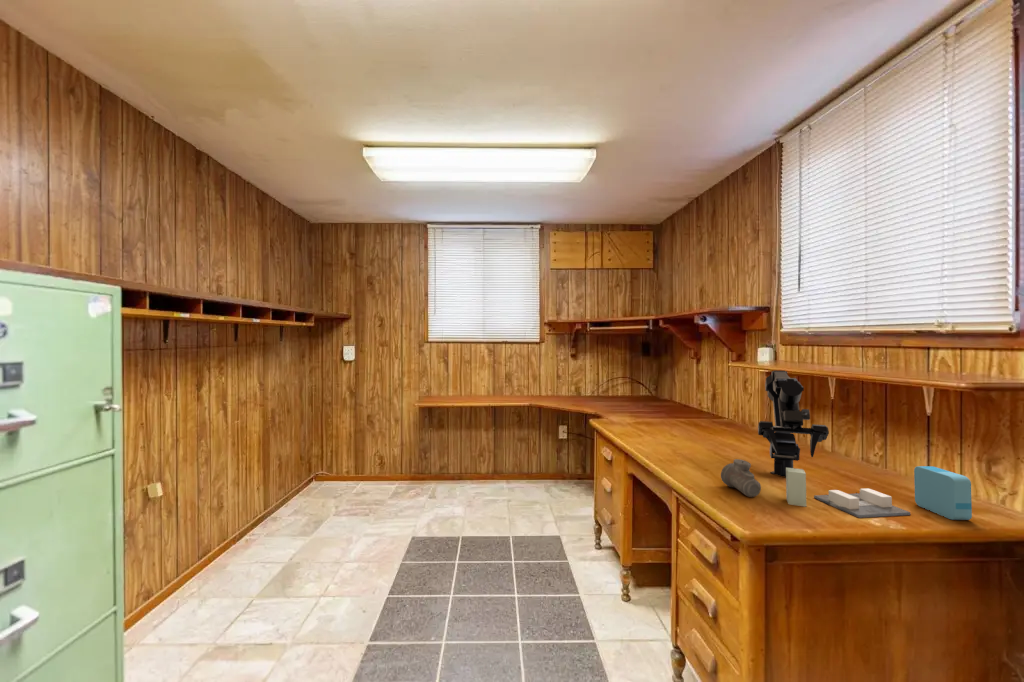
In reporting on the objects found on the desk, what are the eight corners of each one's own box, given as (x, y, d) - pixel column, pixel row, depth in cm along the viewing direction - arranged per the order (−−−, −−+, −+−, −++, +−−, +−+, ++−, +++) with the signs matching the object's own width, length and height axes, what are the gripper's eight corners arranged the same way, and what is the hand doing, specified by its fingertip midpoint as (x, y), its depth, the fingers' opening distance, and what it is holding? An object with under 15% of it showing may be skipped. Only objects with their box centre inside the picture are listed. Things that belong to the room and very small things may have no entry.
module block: (786, 499, 128) (785, 467, 128) (803, 501, 126) (803, 469, 126) (788, 504, 124) (787, 471, 124) (806, 506, 122) (805, 473, 122)
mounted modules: (849, 509, 118) (849, 498, 118) (828, 500, 125) (828, 490, 125) (891, 506, 119) (891, 496, 119) (868, 498, 126) (868, 488, 126)
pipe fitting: (718, 484, 141) (722, 455, 140) (740, 485, 142) (744, 457, 141) (739, 501, 129) (743, 470, 128) (763, 502, 130) (768, 471, 129)
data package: (972, 522, 110) (971, 477, 111) (954, 521, 111) (953, 477, 111) (930, 504, 122) (929, 464, 123) (914, 504, 123) (913, 464, 123)
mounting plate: (858, 517, 114) (858, 514, 114) (814, 498, 129) (814, 495, 129) (910, 515, 115) (910, 512, 115) (860, 495, 130) (860, 493, 130)
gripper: (758, 397, 136) (761, 441, 127) (827, 400, 127) (836, 447, 119) (756, 413, 144) (759, 455, 135) (821, 417, 135) (829, 462, 127)
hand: (794, 455), depth 129 cm, fingers open, 9 cm apart
